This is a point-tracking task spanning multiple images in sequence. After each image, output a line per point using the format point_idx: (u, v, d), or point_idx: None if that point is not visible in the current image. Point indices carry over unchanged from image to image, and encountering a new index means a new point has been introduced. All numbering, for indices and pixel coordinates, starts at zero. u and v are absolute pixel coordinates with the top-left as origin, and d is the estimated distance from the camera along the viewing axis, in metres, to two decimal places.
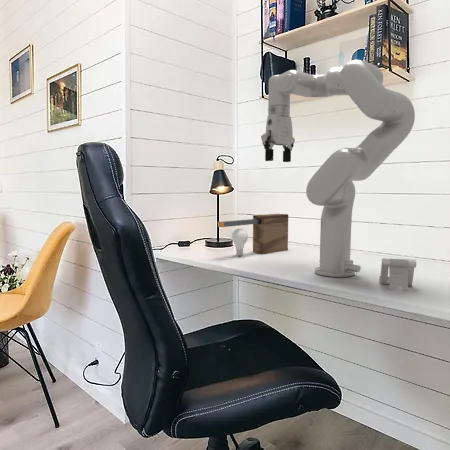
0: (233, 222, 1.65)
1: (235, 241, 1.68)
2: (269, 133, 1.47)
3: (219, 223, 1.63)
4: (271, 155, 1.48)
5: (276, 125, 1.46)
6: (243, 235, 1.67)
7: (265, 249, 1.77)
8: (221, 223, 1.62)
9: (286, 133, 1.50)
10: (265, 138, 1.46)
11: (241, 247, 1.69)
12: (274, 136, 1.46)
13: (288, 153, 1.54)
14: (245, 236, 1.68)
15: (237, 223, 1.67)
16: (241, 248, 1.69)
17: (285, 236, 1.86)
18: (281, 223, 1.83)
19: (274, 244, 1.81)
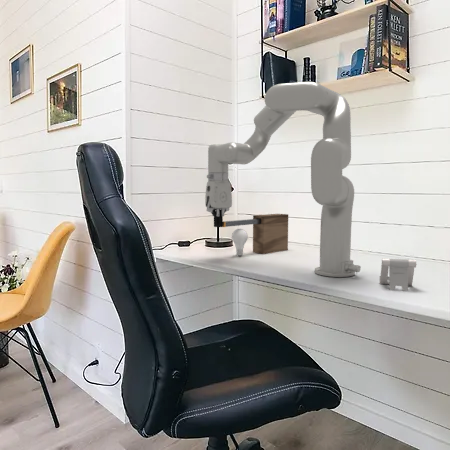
0: (234, 222, 1.66)
1: (235, 241, 1.68)
2: None
3: None
4: (218, 222, 1.60)
5: (214, 192, 1.56)
6: (243, 235, 1.67)
7: (265, 249, 1.77)
8: (223, 223, 1.62)
9: (225, 198, 1.59)
10: (211, 210, 1.58)
11: (241, 247, 1.69)
12: (212, 202, 1.56)
13: None
14: (245, 236, 1.68)
15: (238, 223, 1.68)
16: (241, 248, 1.69)
17: (285, 236, 1.86)
18: (281, 223, 1.83)
19: (274, 244, 1.81)
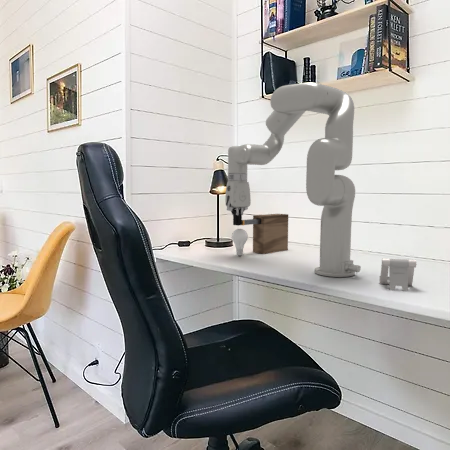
0: (253, 220, 1.73)
1: (235, 241, 1.68)
2: None
3: None
4: (238, 220, 1.67)
5: (234, 191, 1.63)
6: (243, 235, 1.67)
7: (265, 249, 1.77)
8: None
9: (244, 197, 1.66)
10: (231, 209, 1.65)
11: (241, 247, 1.69)
12: (232, 201, 1.63)
13: None
14: (245, 236, 1.68)
15: (256, 221, 1.75)
16: (241, 248, 1.69)
17: (285, 236, 1.86)
18: (281, 223, 1.83)
19: (274, 244, 1.81)
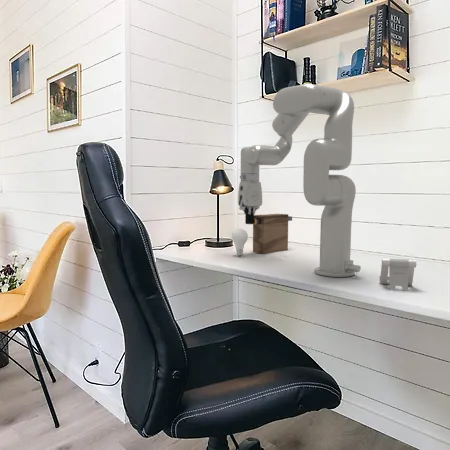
0: None
1: (235, 241, 1.68)
2: None
3: None
4: (250, 219, 1.72)
5: (246, 191, 1.68)
6: (243, 235, 1.67)
7: (265, 249, 1.77)
8: None
9: (256, 197, 1.71)
10: (243, 208, 1.70)
11: (241, 247, 1.69)
12: (245, 201, 1.68)
13: None
14: (245, 236, 1.68)
15: None
16: (241, 248, 1.69)
17: (285, 236, 1.86)
18: (281, 223, 1.83)
19: (274, 244, 1.81)
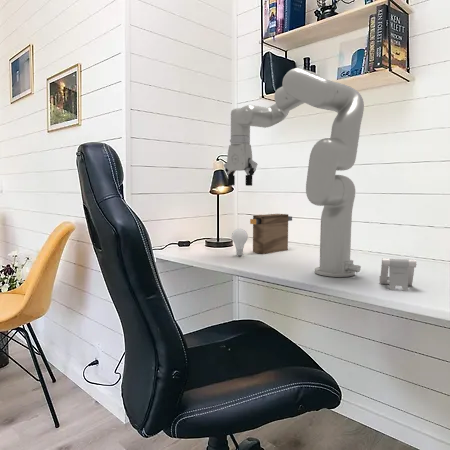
0: None
1: (235, 241, 1.68)
2: None
3: (251, 220, 1.75)
4: None
5: None
6: (243, 235, 1.67)
7: (265, 249, 1.77)
8: (253, 220, 1.74)
9: (236, 160, 1.65)
10: (225, 166, 1.73)
11: (241, 247, 1.69)
12: None
13: None
14: (245, 236, 1.68)
15: None
16: (241, 248, 1.69)
17: (285, 236, 1.86)
18: (281, 223, 1.83)
19: (274, 244, 1.81)
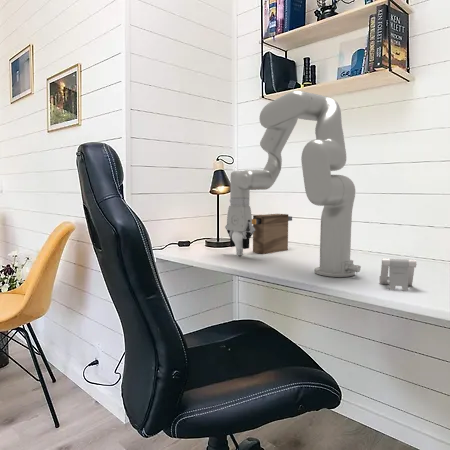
0: None
1: (235, 241, 1.68)
2: None
3: None
4: None
5: (227, 215, 1.71)
6: None
7: (265, 249, 1.77)
8: (253, 220, 1.74)
9: (236, 221, 1.67)
10: (227, 228, 1.74)
11: (241, 247, 1.69)
12: None
13: None
14: None
15: None
16: (241, 248, 1.69)
17: (285, 236, 1.86)
18: (281, 223, 1.83)
19: (274, 244, 1.81)
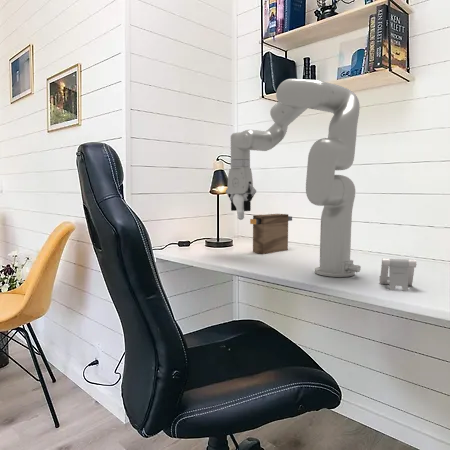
0: None
1: (236, 204, 1.67)
2: None
3: (251, 220, 1.75)
4: None
5: (228, 178, 1.69)
6: (244, 198, 1.66)
7: (265, 249, 1.77)
8: (253, 220, 1.74)
9: (237, 184, 1.65)
10: (227, 192, 1.73)
11: (242, 210, 1.67)
12: None
13: None
14: None
15: None
16: (242, 211, 1.68)
17: (285, 236, 1.86)
18: (281, 223, 1.83)
19: (274, 244, 1.81)
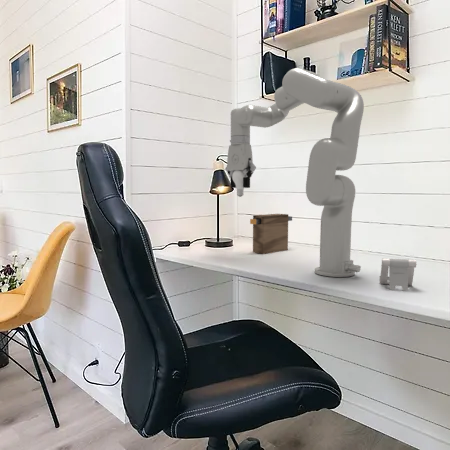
0: None
1: (235, 180, 1.66)
2: None
3: (251, 220, 1.75)
4: None
5: (228, 155, 1.68)
6: None
7: (265, 249, 1.77)
8: (253, 220, 1.74)
9: (236, 160, 1.65)
10: (227, 169, 1.72)
11: (242, 187, 1.67)
12: None
13: None
14: None
15: None
16: (242, 188, 1.67)
17: (285, 236, 1.86)
18: (281, 223, 1.83)
19: (274, 244, 1.81)
